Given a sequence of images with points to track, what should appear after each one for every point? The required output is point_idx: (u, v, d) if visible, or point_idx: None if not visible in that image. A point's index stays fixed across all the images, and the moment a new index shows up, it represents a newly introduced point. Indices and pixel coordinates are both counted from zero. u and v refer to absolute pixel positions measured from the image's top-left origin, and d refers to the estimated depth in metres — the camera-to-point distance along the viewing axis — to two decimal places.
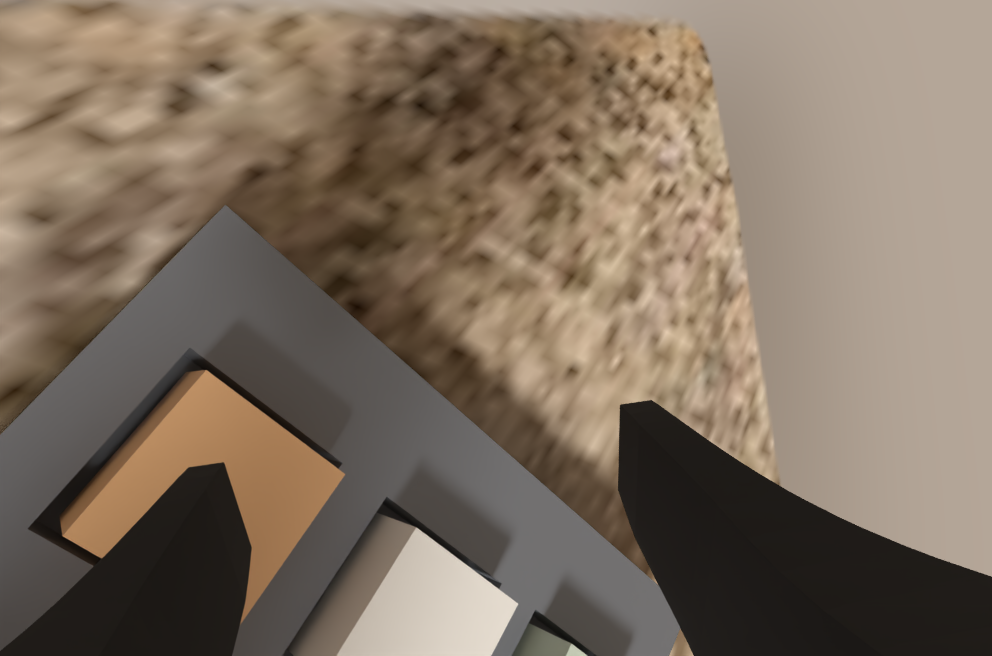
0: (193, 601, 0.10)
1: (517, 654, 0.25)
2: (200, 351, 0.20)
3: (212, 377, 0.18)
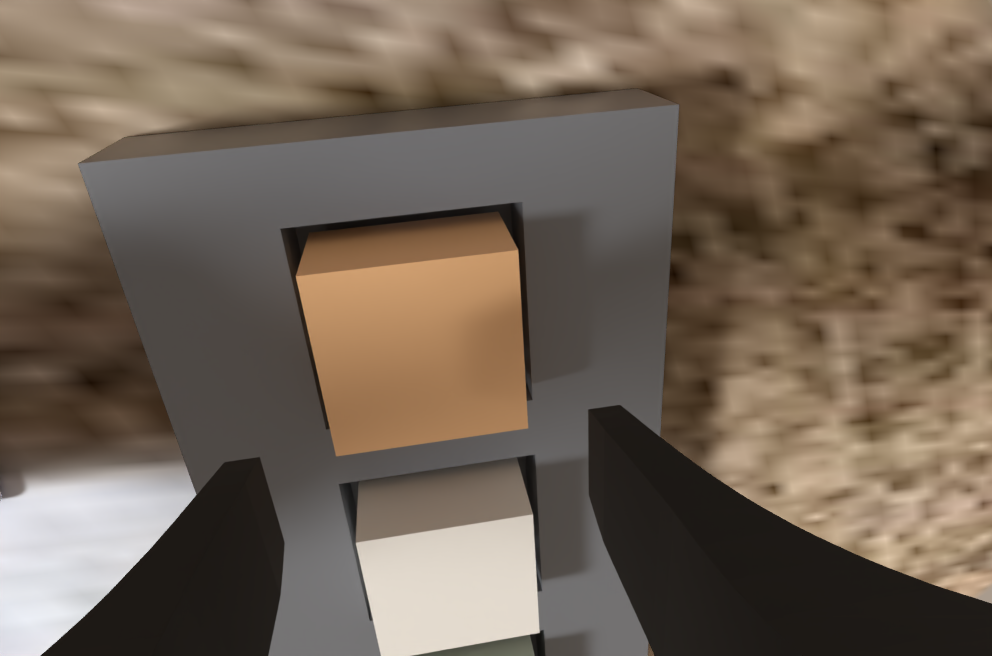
0: (236, 594, 0.10)
1: None
2: (526, 212, 0.17)
3: (516, 260, 0.15)
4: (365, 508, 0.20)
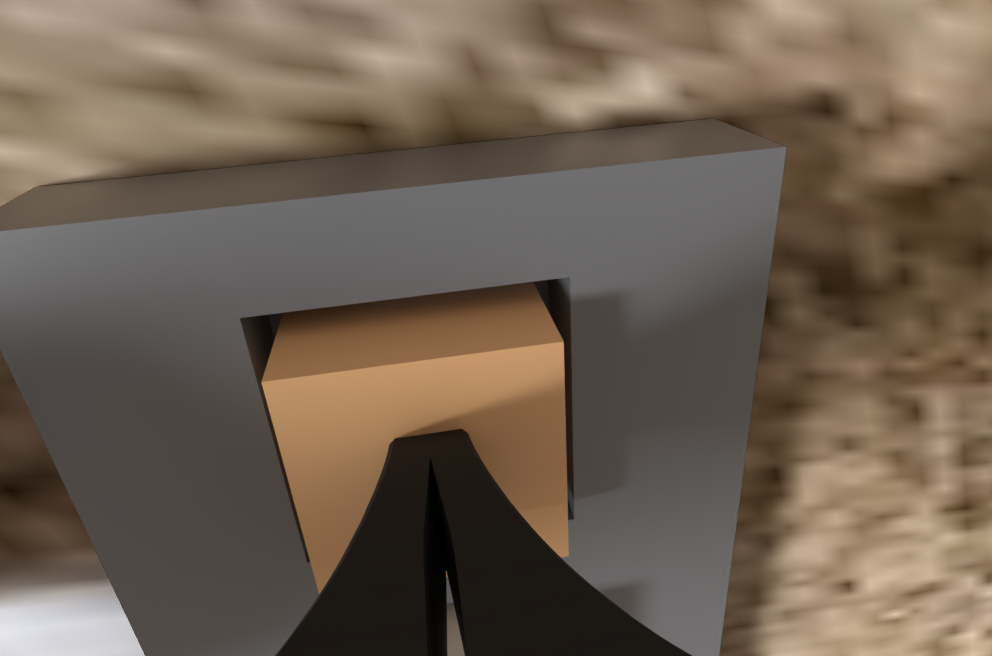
0: (434, 562, 0.10)
1: None
2: (575, 291, 0.13)
3: (560, 354, 0.11)
4: None
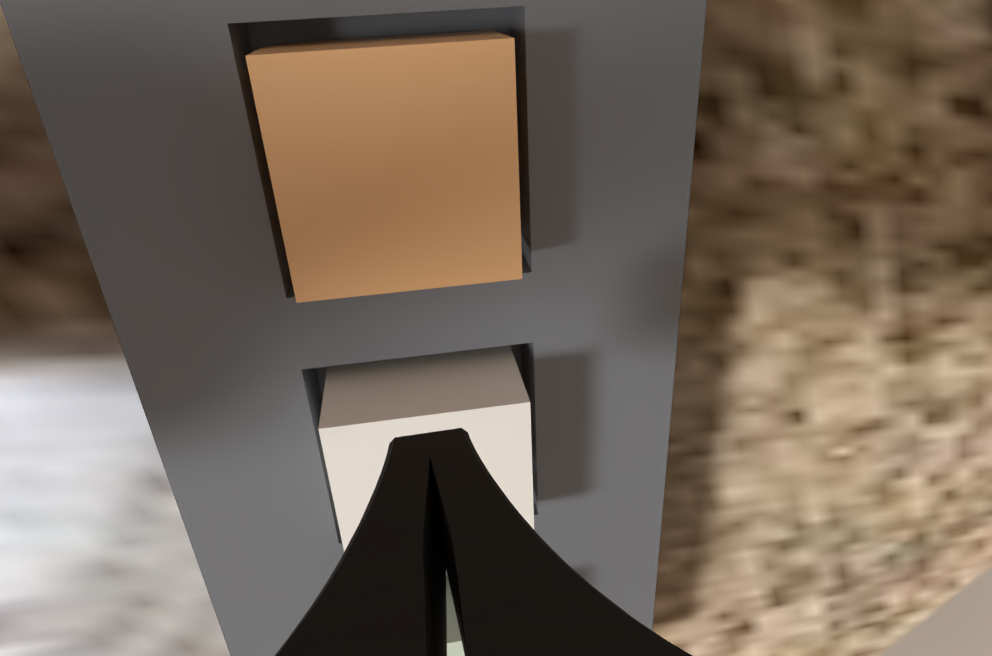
0: (434, 562, 0.10)
1: None
2: (529, 21, 0.14)
3: (511, 52, 0.13)
4: (332, 396, 0.17)
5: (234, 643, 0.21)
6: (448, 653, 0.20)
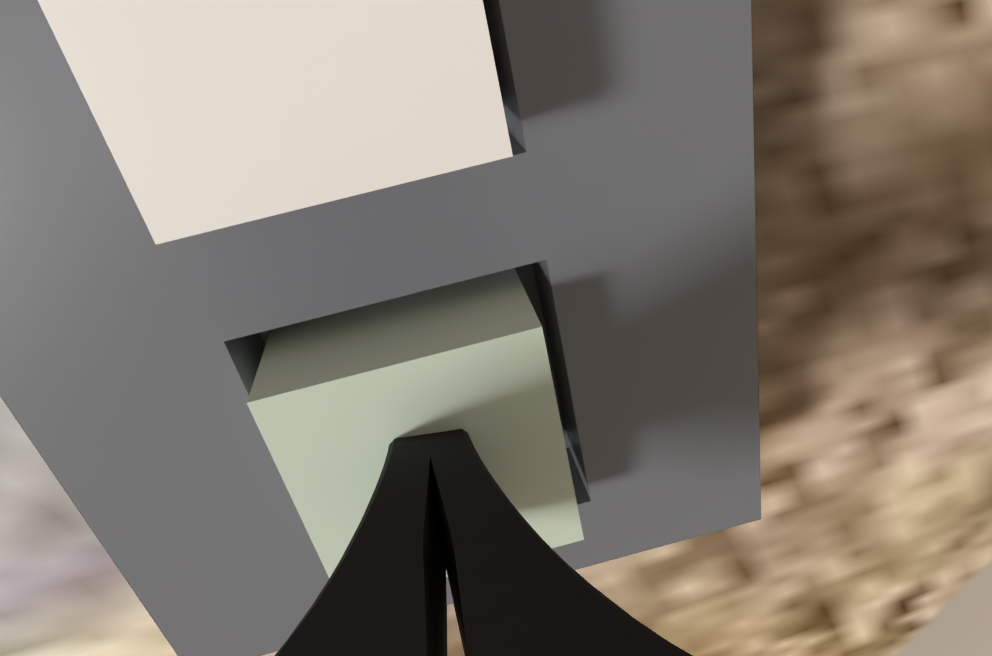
0: (434, 562, 0.10)
1: (457, 288, 0.13)
2: None
3: None
4: None
5: (57, 458, 0.12)
6: (392, 389, 0.11)
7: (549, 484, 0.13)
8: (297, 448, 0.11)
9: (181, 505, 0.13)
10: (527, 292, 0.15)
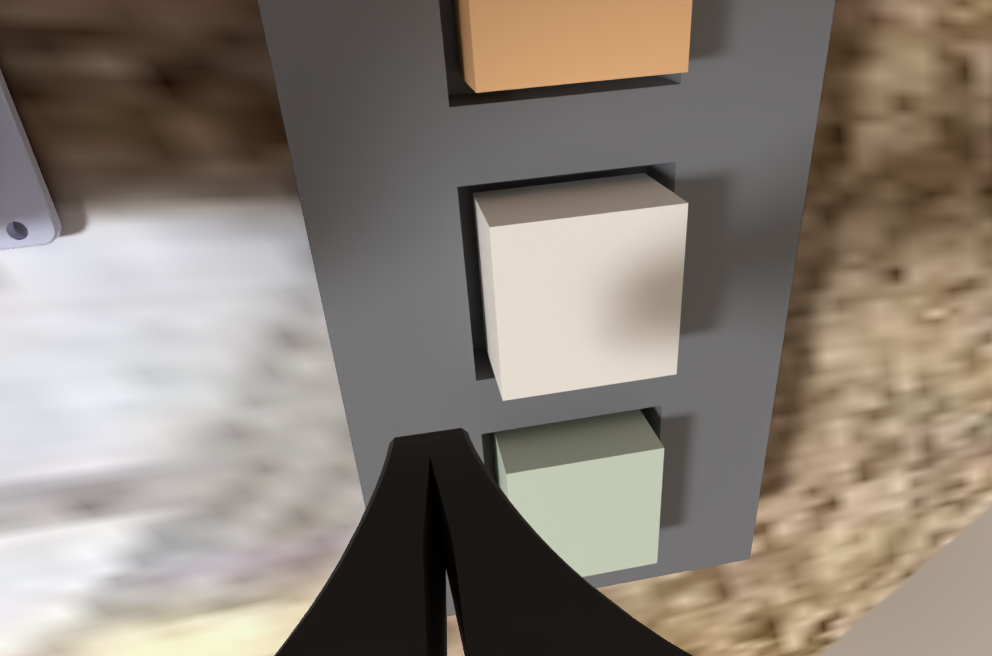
0: (434, 562, 0.10)
1: None
2: None
3: None
4: (490, 209, 0.17)
5: (369, 489, 0.21)
6: (581, 473, 0.21)
7: (646, 530, 0.22)
8: (523, 499, 0.21)
9: None
10: None
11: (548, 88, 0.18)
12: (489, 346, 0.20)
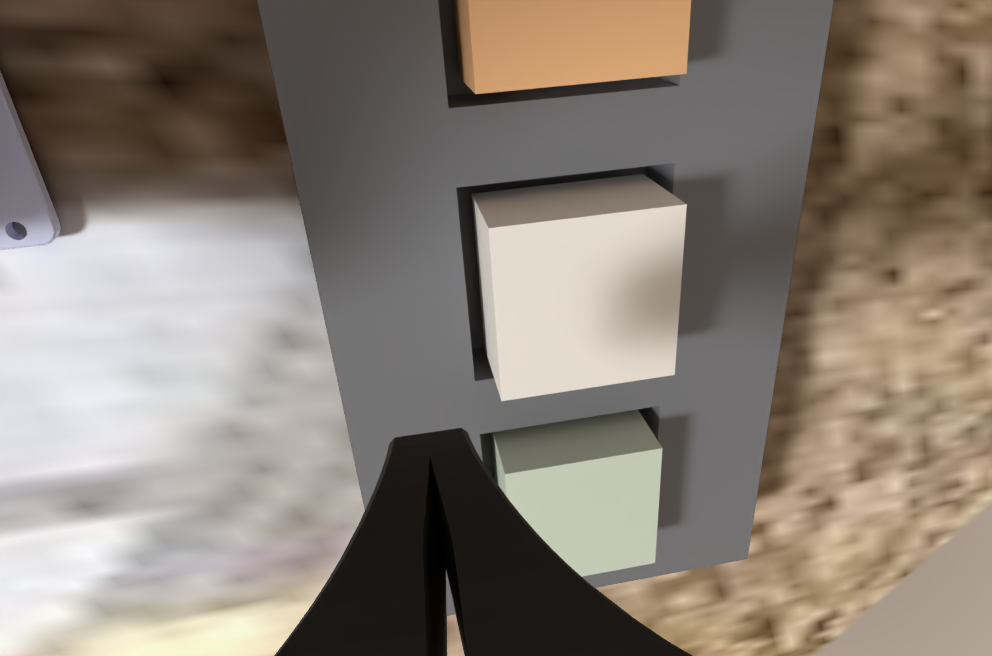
0: (434, 562, 0.10)
1: None
2: None
3: None
4: (489, 210, 0.17)
5: (368, 489, 0.21)
6: (579, 473, 0.21)
7: (644, 530, 0.22)
8: (521, 499, 0.21)
9: None
10: None
11: (547, 89, 0.18)
12: (488, 346, 0.20)
